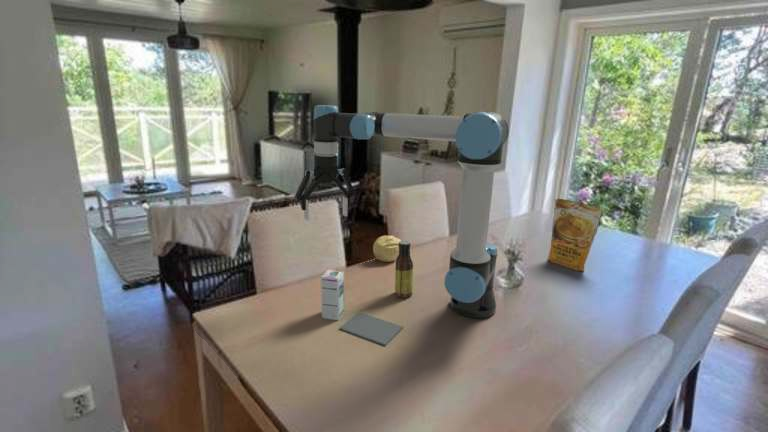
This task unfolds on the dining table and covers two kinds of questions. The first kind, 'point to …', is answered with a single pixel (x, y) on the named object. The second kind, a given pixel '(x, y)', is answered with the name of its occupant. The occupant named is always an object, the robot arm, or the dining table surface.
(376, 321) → the felt mat
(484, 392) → the dining table surface
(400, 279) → the sauce bottle
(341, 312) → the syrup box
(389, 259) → the yellow round lump
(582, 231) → the pancake mix bag
